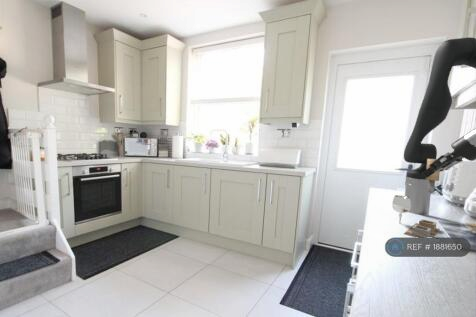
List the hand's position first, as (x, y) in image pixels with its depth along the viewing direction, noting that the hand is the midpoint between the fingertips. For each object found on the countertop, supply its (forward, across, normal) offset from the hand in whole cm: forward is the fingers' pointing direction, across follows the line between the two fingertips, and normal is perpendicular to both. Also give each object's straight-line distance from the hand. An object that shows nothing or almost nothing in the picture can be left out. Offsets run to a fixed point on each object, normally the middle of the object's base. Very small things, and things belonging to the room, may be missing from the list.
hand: (425, 175), depth 80 cm
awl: (+3, 0, +6) cm, 6 cm away
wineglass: (+19, +3, +11) cm, 22 cm away
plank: (+13, +5, +16) cm, 22 cm away
